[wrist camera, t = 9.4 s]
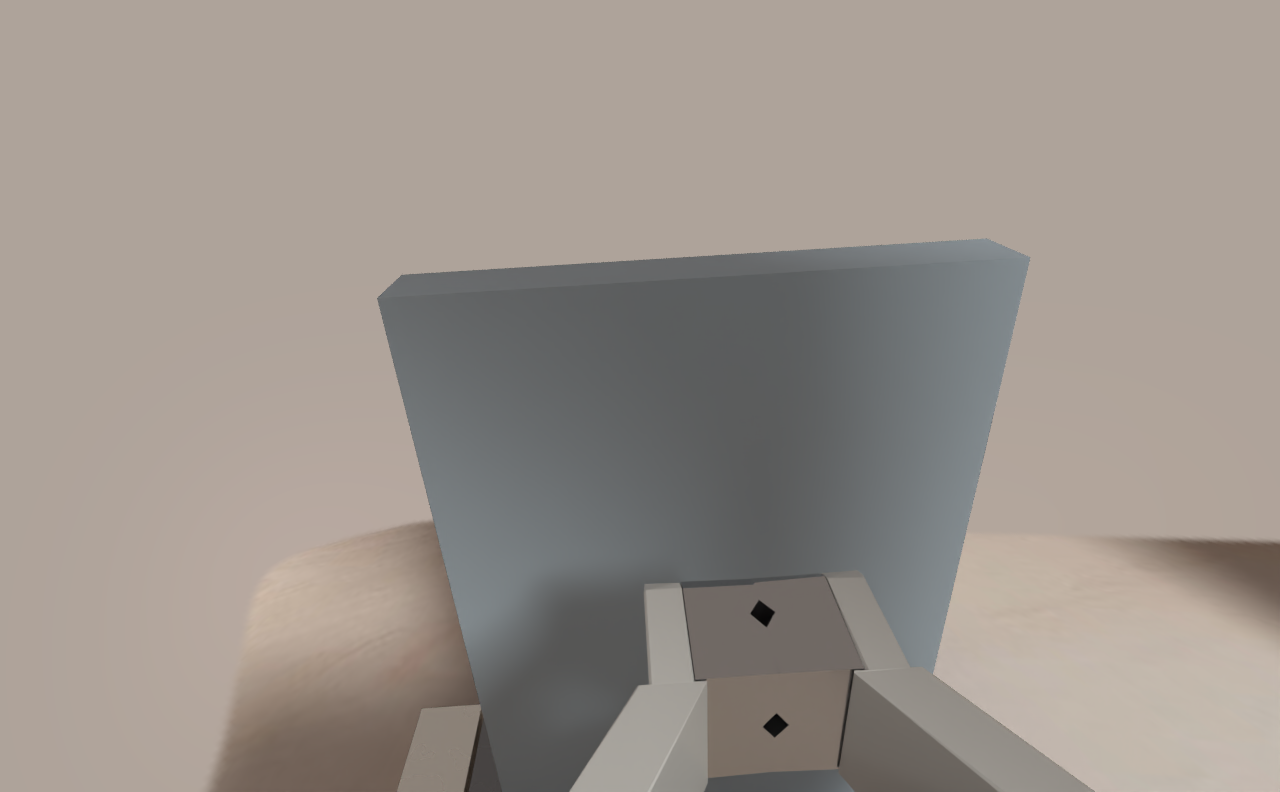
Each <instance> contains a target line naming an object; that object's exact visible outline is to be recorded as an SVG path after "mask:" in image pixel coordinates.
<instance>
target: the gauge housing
mask: <svg viewBox="0 0 1280 792" xmlns="http://www.w3.org/2000/svg"><path fill="white" fill-rule="evenodd" d="M397 792H502V789H501V785H500V781H499V777H498V773H497V769H496V765H495V761H494V757H493V753H492V749H491V745H490V741H489V737H488V733H487V729H486V725H485V722H484V718H483V714H482V710H481V706H480V704H478V705H464V706H450V707H435V708H422V710H421V713H420V716H419V720H418V723H417V726H416V730H415V733H414V736H413V739H412V743H411V746H410V749H409V753H408V756H407V759H406V763H405V766H404V769H403V773H402V776H401V779H400V782H399V786H398V789H397Z"/></svg>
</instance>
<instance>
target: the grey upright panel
mask: <svg viewBox="0 0 1280 792" xmlns="http://www.w3.org/2000/svg"><path fill="white" fill-rule="evenodd" d="M1029 261H1030V257H1028V256H1026V255H1024V254H1021V253H1019V252H1017V251H1014V250H1012V249H1009V248H1007V247H1005V246H1003V245H1000V244H998V243H996V242H994V241H991V240H989V239H973V240H957V241H941V242H926V243H909V244H893V245H876V246H862V247H861V246H860V247H845V248H829V249H812V250H797V251H779V252H763V253H747V254H732V255H715V256H699V257H683V258H668V259H667V258H666V259H650V260H634V261H619V262H602V263H586V264H571V265H554V266H539V267H522V268H505V269H490V270H473V271H458V272H441V273H424V274H409V275H401V276H400V277H399V278H398V279H397V280H396V281H395V282H394V283H393V284H392V285H391V286H390V287H388V288H387V289H386V290H385V291H384V292H383V293H382V294H381V295H380V296H379V297H378V298H377V299H378V303H379V307H380V311H381V315H382V319H383V323H384V327H385V331H386V335H387V339H388V343H389V347H390V351H391V355H392V358H393V363H394V366H395V370H396V374H397V378H398V382H399V386H400V390H401V394H402V398H403V402H404V406H405V410H406V414H407V418H408V422H409V425H410V430H411V434H412V438H413V441H414V445H415V449H416V453H417V457H418V461H419V465H420V469H421V473H422V477H423V481H424V485H425V488H426V493H427V496H428V500H429V505H430V508H431V512H432V516H433V520H434V524H435V528H436V532H437V536H438V540H439V544H440V548H441V552H442V556H443V560H444V564H445V568H446V572H447V576H448V580H449V583H450V587H451V591H452V595H453V599H454V603H455V607H456V611H457V615H458V619H459V623H460V627H461V631H462V635H463V639H464V643H465V647H466V651H467V654H468V658H469V662H470V666H471V670H472V674H473V678H474V682H475V686H476V690H477V694H478V698H479V702H480V706H481V710H482V714H483V718H484V722H485V725H486V729H487V733H488V737H489V741H490V745H491V749H492V753H493V757H494V761H495V765H496V769H497V773H498V777H499V781H500V785H501V789H502V792H569V791H570V789H571V788H572V786H573V785H574V783H575V782H576V780H577V779H578V777H579V776H580V774H581V772H582V771H583V769H584V768H585V766H586V765H587V763H588V762H589V760H590V759H591V757H592V755H593V754H594V752H595V751H596V749H597V748H598V746H599V745H600V743H601V741H602V740H603V738H604V737H605V735H606V734H607V732H608V731H609V729H610V728H611V726H612V724H613V723H614V721H615V720H616V718H617V717H618V715H619V714H620V712H621V711H622V709H623V707H624V706H625V704H626V703H627V701H628V700H629V698H630V697H631V695H632V694H633V692H634V690H635V689H636V687H637V686H638V685H648V684H649V676H648V658H647V641H646V624H645V607H644V584H654V583H680V585H681V582H685V581H710V580H735V579H750V578H764V577H777V576H791V575H805V574H821V573H828V572H841V571H854V570H858V571H859V572H860V573H861V574H863V575H864V577H865V579H866V581H867V583H868V585H869V587H870V589H871V591H872V593H873V595H874V597H875V599H876V601H877V603H878V605H879V607H880V609H881V611H882V613H883V615H884V617H885V619H886V620H887V622H888V624H889V626H890V628H891V630H892V632H893V634H894V636H895V638H896V640H897V642H898V644H899V646H900V648H901V650H902V652H903V654H904V656H905V658H906V660H907V662H908V664H909V665H910V667H923V668H925V669H926V670H927V671H929V672H930V673H931V674H933V671H934V667H935V663H936V659H937V654H938V650H939V646H940V641H941V637H942V633H943V629H944V624H945V620H946V616H947V612H948V607H949V603H950V599H951V594H952V590H953V586H954V582H955V577H956V573H957V569H958V565H959V560H960V556H961V552H962V547H963V543H964V539H965V535H966V530H967V525H968V522H969V517H970V513H971V509H972V504H973V500H974V495H975V492H976V488H977V483H978V479H979V475H980V470H981V466H982V462H983V458H984V453H985V449H986V445H987V440H988V436H989V432H990V427H991V423H992V419H993V415H994V411H995V406H996V402H997V398H998V393H999V389H1000V385H1001V381H1002V376H1003V372H1004V368H1005V363H1006V359H1007V355H1008V351H1009V346H1010V342H1011V338H1012V334H1013V329H1014V325H1015V321H1016V316H1017V312H1018V308H1019V304H1020V299H1021V295H1022V291H1023V287H1024V282H1025V278H1026V274H1027V269H1028V265H1029ZM838 772H839V769H833V770H807V771H781V772H765V773H755V774H744V775H734V776H724V777H714V778H708V783H707V786H706V788H705V791H704V792H855V791H854V790H853V789H852V788H851V787H850V785H849V784H848V783H847V782H846V781H845V780H844V779H843V778H842V776H841V775H840V774H839V773H838Z"/></svg>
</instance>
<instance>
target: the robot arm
mask: <svg viewBox="0 0 1280 792" xmlns="http://www.w3.org/2000/svg"><path fill="white" fill-rule="evenodd" d="M644 607H645V624H646V641H647V658H648V676H649V684H648V685H638V686H637V687H636V689H635V690H634V692H633V694H632V695H631V697H630V698H629V700H628V701H627V703H626V704H625V706H624V707H623V709H622V711H621V712H620V714H619V715H618V717H617V718H616V720H615V721H614V723H613V724H612V726H611V728H610V729H609V731H608V732H607V734H606V735H605V737H604V738H603V740H602V741H601V743H600V745H599V746H598V748H597V749H596V751H595V752H594V754H593V755H592V757H591V759H590V760H589V762H588V763H587V765H586V766H585V768H584V769H583V771H582V772H581V774H580V776H579V777H578V779H577V780H576V782H575V783H574V785H573V786H572V788H571V789H570V791H569V792H704V791H705V788H706V786H707V783H708V778H714V777H724V776H734V775H744V774H755V773H765V772H781V771H807V770H833V769H839V772H838V773H839V774H840V775H841V776H842V778H843V779H844V780H845V781H846V782H847V783H848V784H849V785H850V787H851V788H852V789H853V790H854V791H855V792H1095V791H1093V790H1092V789H1091V788H1089V787H1088V786H1087V785H1085V784H1084V783H1082V782H1081V781H1080V780H1078V779H1077V778H1075V777H1074V776H1073V775H1071V774H1070V773H1069V772H1067V771H1066V770H1064V769H1063V768H1062V767H1060V766H1059V765H1057V764H1056V763H1055V762H1053V761H1052V760H1051V759H1049V758H1048V757H1046V756H1045V755H1044V754H1042V753H1041V752H1039V751H1038V750H1037V749H1035V748H1034V747H1033V746H1031V745H1030V744H1028V743H1027V742H1026V741H1024V740H1023V739H1021V738H1020V737H1019V736H1017V735H1016V734H1015V733H1013V732H1012V731H1010V730H1009V729H1008V728H1006V727H1005V726H1003V725H1002V724H1001V723H999V722H998V721H997V720H995V719H994V718H992V717H991V716H990V715H988V714H987V713H985V712H984V711H983V710H981V709H980V708H979V707H977V706H976V705H974V704H973V703H972V702H970V701H969V700H967V699H966V698H965V697H963V696H962V695H961V694H959V693H958V692H956V691H955V690H954V689H952V688H951V687H949V686H948V685H947V684H945V683H944V682H943V681H941V680H940V679H938V678H937V677H936V676H934V675H933V674H931V673H930V672H929V671H927V670H926V669H925V668H923V667H910V665H909V664H908V662H907V660H906V658H905V656H904V654H903V652H902V650H901V648H900V646H899V644H898V642H897V640H896V638H895V636H894V634H893V632H892V630H891V628H890V626H889V624H888V622H887V620H886V619H885V617H884V615H883V613H882V611H881V609H880V607H879V605H878V603H877V601H876V599H875V597H874V595H873V593H872V591H871V589H870V587H869V585H868V583H867V581H866V579H865V577H864V575H863V574H861V573H860V572H859V571H858V570H854V571H841V572H828V573H821V574H805V575H791V576H777V577H764V578H750V579H735V580H710V581H685V582H681V585H680V583H654V584H644Z"/></svg>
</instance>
